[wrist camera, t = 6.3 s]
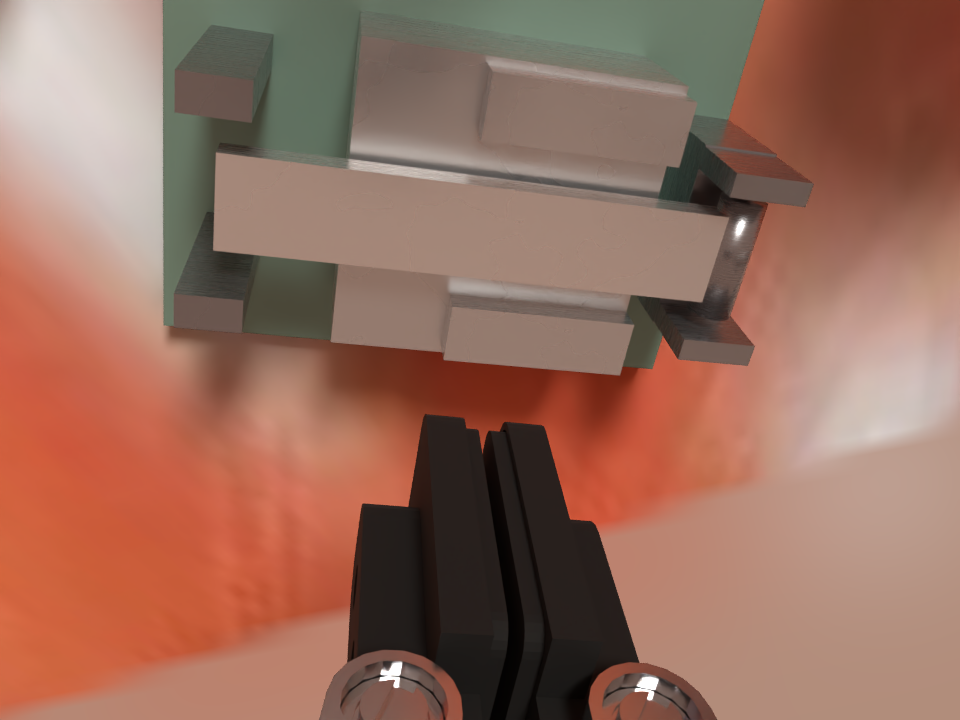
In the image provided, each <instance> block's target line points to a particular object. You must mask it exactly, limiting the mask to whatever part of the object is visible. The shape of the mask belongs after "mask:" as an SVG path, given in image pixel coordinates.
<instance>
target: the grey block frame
mask: <svg viewBox="0 0 960 720" xmlns="http://www.w3.org/2000/svg"><path fill="white" fill-rule="evenodd" d="M273 35H274V34H269V33H263V32H256V31H249V30H243V29H236V28H230V27H223V26H217V25H210V27H209V28H208V29H207V30H206V31H205V33H204V34H203V35H202V36H201V38H200V39H199V40H198V41H197V43H196V44H195V45H194V46H193V47H192V49H191V50H190V51H189V52H188V54H187V55H186V56H185V57H184V59H183V60H182V61H181V62H180V63H179V65H178V66H177V67H176V68H175V104H174V112H175V113H182V114H189V115H197V116H204V117H212V118H219V119H227V120H234V121H242V122H249V123H252V120H253V117H254V115H255V112H256V109H257V107H258V104H259V101H260V99H261V96H262V93H263V91H264V88H265V85H266V83H267V80H268V77H269V74H270V72H271V69H272V53H273ZM688 88H689V86H687V85H686V84H684V83H683V82H681V81H680V80H679V79H677V78H676V77H674V76H673V75H672V74H670V73H669V72H667V71H666V70H664V69H663V68H662V67H660V66H659V65H657V64H656V63H654V62H653V61H652V60H650V59H649V58H647V57H646V56H643V55H637V54H631V53H625V52H619V51H612V50H606V49H600V48H594V47H588V46H581V45H575V44H569V43H563V42H556V41H550V40H544V39H538V38H532V37H525V36H519V35H513V34H507V33H501V32H494V31H488V30H482V29H476V28H470V27H463V26H457V25H451V24H445V23H439V22H432V21H426V20H420V19H414V18H407V17H401V16H395V15H389V14H383V13H376V12H370V11H364V10H360V20H359V30H358V40H357V50H356V60H355V70H354V80H353V90H352V100H351V110H350V120H349V131H348V141H347V151H346V159H353V160H361V161H368V162H376V163H384V164H392V165H399V166H407V167H415V168H423V169H430V170H438V171H446V172H454V173H462V174H469V175H477V176H485V177H493V178H500V179H508V180H516V181H524V182H531V183H539V184H547V185H555V186H562V187H570V188H578V189H586V190H594V191H601V192H609V193H617V194H625V195H632V196H640V197H648V198H656V199H663V200H671V201H679V202H687V203H694V204H702V205H710V206H717V205H718V202H719V199H720V196H721V193H722V192H724V193H726V194H727V195H728V196H729V197H731V198H738V199H746V200H754V201H761V202H769V203H777V204H784V205H792V206H799V207H806V204H807V201H808V199H809V196H810V193H811V190H812V187H813V185H814V183H812V182H811V181H809V180H808V179H807V178H805V177H804V176H802V175H801V174H800V173H798V172H797V171H796V170H794V169H793V168H791V167H790V166H789V165H787V164H786V163H785V162H783V161H782V160H780V159H779V158H778V157H776V156H777V154H775V153H774V152H772V151H771V150H770V149H768V148H767V147H766V146H764V145H763V144H761V143H760V142H759V141H757V140H756V139H754V138H753V137H752V136H750V135H749V134H747V133H746V132H745V131H743V130H742V129H740V128H739V127H738V126H736V125H735V124H734V123H732V122H731V121H729V120H727V119H720V118H714V117H707V116H700V115H694V114H695V110H696V106H697V102H696V101H694V100H693V99H691V98H690V97H689V96H687V92H688ZM213 239H214V213H212V212H207V213H206V215H205V218H204V220H203V222H202V225H201V227H200V230H199V232H198V235H197V237H196V240H195V242H194V245H193V247H192V250H191V252H190V255H189V257H188V260H187V262H186V265H185V267H184V270H183V272H182V274H181V277H180V279H179V282H178V284H177V287H176V289H175V292H174V328H186V329H197V330H208V331H219V332H230V333H242V330H243V326H244V322H245V317H246V313H247V309H248V304H249V300H250V296H251V291H252V287H253V283H254V278H255V274H256V270H257V265H258V261H259V256H260V255H251V254H241V253H232V252H222V251H213ZM636 296H637V295H636ZM630 297H631V295H628V294H618V293H609V292H599V291H590V290H580V289H571V288H562V287H552V286H543V285H533V284H524V283H514V282H505V281H496V280H486V279H477V278H467V277H458V276H449V275H439V274H430V273H420V272H411V271H401V270H392V269H383V268H373V267H364V266H354V265H345V264H335V272H334V282H333V302H332V324H331V342H334V343H345V344H356V345H367V346H379V347H390V348H401V349H412V350H423V351H435V352H442V354H443V360H449V361H460V362H472V363H483V364H494V365H506V366H517V367H529V368H540V369H552V370H563V371H575V372H586V373H597V374H609V375H620V373H621V370H622V366H623V363H624V359H625V356H626V352H627V349H628V345H629V342H630V338H631V335H632V331H633V328H634V324H633V322H632V320H631V319H630V317H629V315H628V313H627V312H626V311H627V308H628V304H629V301H630ZM637 298H638V300H639V301H640V303H641V304H642V306H643V307H644V309H645V311H646V312H647V314H648V315H649V317H650V318H651V320H652V322H653V323H655V324H656V326H657V327H658V329H659V330H660V332H661V333H662V335H663V337H664V338H665V340H666V341H667V343H668V344H669V346H670V347H671V349H672V351H673V352H674V354H675V355H676V357H677V358H678V359H679V360H690V361H701V362H712V363H723V364H733V365H744V366H748V364H749V361H750V358H751V356H752V353H753V350H754V347H755V346H754V345H753V343H752V342H751V341H750V340H749V339H748V337H747V336H746V335H745V334H744V332H743V331H742V330H741V329H740V327H739V326H738V325H737V324H736V322H735V321H734V320H733V319H732V318H731V316H730V318H729V319H728V320H725V321H714V320H709V319H705V318H702V317H699V316H697V315H695V314H693V313H692V312H691V311H689V310H688V309H687V306H686V304H687V301H684V300H675V299H665V298H656V297H646V296H637Z"/></svg>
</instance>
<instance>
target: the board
mask: <svg viewBox="0 0 960 720" xmlns="http://www.w3.org/2000/svg"><path fill="white" fill-rule="evenodd" d="M763 3H764V0H163V236H164V325H166V326H174V292H175V289H176V287H177V284H178V282H179V279H180V277H181V274H182V272H183V270H184V267H185V265H186V262H187V260H188V257H189V255H190V252H191V250H192V247H193V245H194V242H195V240H196V237H197V235H198V232H199V230H200V227H201V225H202V222H203V220H204V218H205V215H206V213H207V212H212V213H214V203H215V166H216V151H217V149H218V147H219V145H220V142H221V143H229V144H236V145H244V146H252V147H260V148H267V149H275V150H283V151H291V152H298V153H306V154H314V155H322V156H330V157H337V158H345V159H346V151H347V141H348V131H349V120H350V110H351V100H352V90H353V80H354V70H355V60H356V50H357V40H358V30H359V20H360V10H364V11H370V12H376V13H383V14H389V15H395V16H401V17H407V18H414V19H420V20H426V21H432V22H439V23H445V24H451V25H457V26H463V27H470V28H476V29H482V30H488V31H494V32H501V33H507V34H513V35H519V36H525V37H532V38H538V39H544V40H550V41H556V42H563V43H569V44H575V45H581V46H588V47H594V48H600V49H606V50H612V51H619V52H625V53H631V54H637V55H643V56H646V57H647V58H649V59H650V60H652V61H653V62H654V63H656V64H657V65H659V66H660V67H662V68H663V69H664V70H666V71H667V72H669V73H670V74H672V75H673V76H674V77H676V78H677V79H679V80H680V81H681V82H683V83H684V84H686V85H687V86H689V88H688V92H687V96H689V97H690V98H691V99H693V100H694V101H696V102H697V106H696V110H695V114H694V115H700V116H707V117H714V118H720V119H727V120H728V119H729V115H730V112H731V109H732V105H733V102H734V99H735V95H736V92H737V89H738V86H739V82H740V79H741V76H742V72H743V69H744V66H745V63H746V59H747V56H748V53H749V49H750V46H751V43H752V40H753V36H754V33H755V30H756V26H757V23H758V20H759V17H760V13H761V10H762V7H763ZM210 25H217V26H223V27H230V28H236V29H243V30H249V31H256V32H263V33H269V34H274V35H273V53H272V69H271V72H270V74H269V77H268V80H267V83H266V85H265V88H264V91H263V93H262V96H261V99H260V101H259V104H258V107H257V109H256V112H255V115H254V117H253V120H252V123H249V122H242V121H234V120H227V119H219V118H212V117H204V116H197V115H189V114H182V113H175V112H174V104H175V68H176V67H177V66H178V65H179V63H180V62H181V61H182V60H183V59H184V57H185V56H186V55H187V54H188V52H189V51H190V50H191V49H192V47H193V46H194V45H195V44H196V43H197V41H198V40H199V39H200V38H201V36H202V35H203V34H204V33H205V31H206V30H207V29H208V28H209V27H210ZM334 272H335V263H326V262H317V261H307V260H298V259H288V258H279V257H269V256H259V261H258V265H257V270H256V274H255V278H254V283H253V287H252V291H251V296H250V300H249V304H248V309H247V313H246V317H245V322H244V326H243V330H242V332H244V333H256V334H267V335H278V336H289V337H300V338H311V339H323V340H331V324H332V302H333V282H334ZM626 312H627V313H628V315H629V317H630V319H631V320H632V322H633V324H634V328H633V331H632V335H631V338H630V342H629V345H628V349H627V352H626V356H625V359H624V363H623V366H624V367H635V368H647V369H653V365H654V362H655V359H656V355H657V352H658V349H659V346H660V342H661V339H662V336H663V335H662V333H661V332H660V330H659V329H658V327H657V326H656V324H655V323H653V322H652V320H651V318H650V317H649V315H648V314H647V312H646V311H645V309H644V307H643V306H642V304H641V303H640V301H639V300H638V298H637V296H636V295H631V297H630V301H629V304H628V308H627V311H626Z"/></svg>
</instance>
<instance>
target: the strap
mask: <svg viewBox="0 0 960 720" xmlns="http://www.w3.org/2000/svg"><path fill="white" fill-rule="evenodd" d="M767 207H768V204H767V203H766V202H761V201H754V200H746V199H738V198H731V197H729V196H728V195H727V194H726V193H724V192H722V193H721V196H720V199H719V202H718V205H717V206H710V205H702V204H694V203H687V202H679V201H671V200H663V199H656V198H648V197H640V196H632V195H625V194H617V193H609V192H601V191H594V190H586V189H578V188H570V187H562V186H555V185H547V184H539V183H531V182H524V181H516V180H508V179H500V178H493V177H485V176H477V175H469V174H462V173H454V172H446V171H438V170H430V169H423V168H415V167H407V166H399V165H392V164H384V163H376V162H368V161H361V160H353V159H345V158H337V157H330V156H322V155H314V154H306V153H298V152H291V151H283V150H275V149H267V148H260V147H252V146H244V145H236V144H229V143H221V142H220V145H219V147H218V149H217V151H216V166H215V203H214V239H213V251H222V252H232V253H241V254H251V255H260V256H269V257H279V258H288V259H298V260H307V261H317V262H326V263H335V264H345V265H354V266H364V267H373V268H383V269H392V270H401V271H411V272H420V273H430V274H439V275H449V276H458V277H467V278H477V279H486V280H496V281H505V282H514V283H524V284H533V285H543V286H552V287H562V288H571V289H580V290H590V291H599V292H609V293H618V294H628V295H637V296H646V297H656V298H665V299H675V300H684V301H687V304H686V306H687V309H688V310H689V311H691V312H692V313H693V314H695V315H697V316H699V317H702V318H705V319H709V320H714V321H725V320H728V319H729V318H730V315H731V312H732V309H733V306H734V303H735V300H736V297H737V295H738V292H739V289H740V286H741V283H742V280H743V277H744V274H745V271H746V268H747V265H748V262H749V259H750V256H751V254H752V251H753V248H754V245H755V242H756V239H757V236H758V233H759V230H760V227H761V224H762V221H763V218H764V215H765V212H766V210H767Z"/></svg>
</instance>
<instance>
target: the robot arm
mask: <svg viewBox="0 0 960 720" xmlns="http://www.w3.org/2000/svg"><path fill="white" fill-rule="evenodd" d="M319 720H717V719H716V717H715V715H714V713H713V711H712V709H711V708H710V706H709V705H708V704H707V702H706V701H705V699H704V698H703V697H702V695H701V694H700V693H699V692H698V691H697V690H696V689H695V688H694V687H692V686H691V685H690V684H689V683H688V682H687V681H685V680H684V679H683V678H681V677H679V676H677V675H676V674H674V673H672V672H670V671H668V670H666V669H664V668H660V667H657V666H654V665H651V664H647V663H639V660H638V657H637V654H636V651H635V647H634V644H633V641H632V638H631V634H630V631H629V628H628V625H627V622H626V618H625V616H624V612H623V609H622V606H621V603H620V599H619V596H618V593H617V590H616V587H615V583H614V580H613V577H612V574H611V570H610V567H609V564H608V561H607V558H606V554H605V551H604V548H603V545H602V542H601V538H600V535H599V532H598V530H597V528H596V526H595V524H594V523H593V522H591V521H581V520H570V518H569V514H568V511H567V507H566V503H565V500H564V496H563V492H562V489H561V485H560V481H559V478H558V474H557V471H556V467H555V463H554V460H553V456H552V452H551V449H550V445H549V441H548V438H547V434H546V431H545V428H544V426H542V425H532V424H522V423H511V422H504V423H503V425H502V427H501V430H500V432H498V431H489V432H488V433H487V436H486V440H485V445H484V449H483V454H482V449H481V443H480V436H479V431H478V430H476V429H466V425H465V420H464V418H458V417H448V416H437V415H427V414H425V416H424V418H423V422H422V428H421V434H420V440H419V446H418V452H417V458H416V464H415V470H414V476H413V482H412V488H411V494H410V500H409V506H408V507H401V506H388V505H375V504H362V508H361V514H360V521H359V528H358V536H357V543H356V551H355V560H354V569H353V579H352V591H351V604H350V622H349V641H348V660H347V664H346V665H345V666H344V667H343V668H342V669H340V671H338V672H337V673H336V674H335V675H334V677H333V679H332V682H331V684H330V686H329V688H328V690H327V692H326V697H325V700H324V704H323V708H322V711H321V715H320V719H319Z"/></svg>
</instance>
